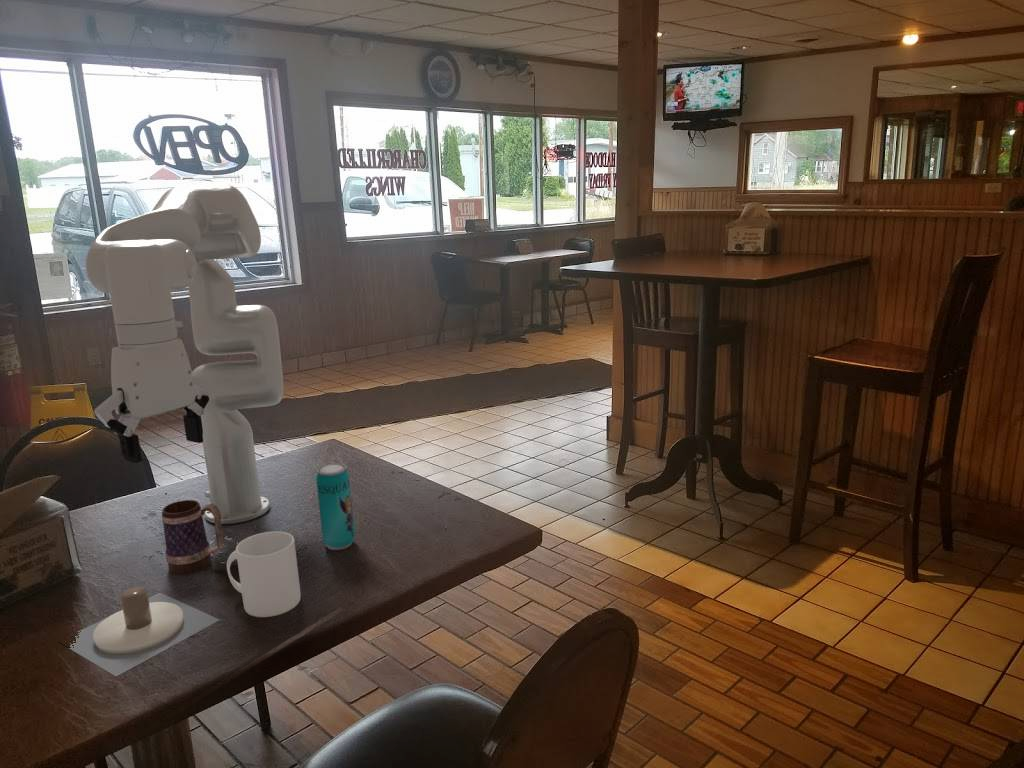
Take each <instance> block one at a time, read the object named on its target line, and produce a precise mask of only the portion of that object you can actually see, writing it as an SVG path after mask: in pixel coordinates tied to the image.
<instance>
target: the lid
mask: <svg viewBox="0 0 1024 768" xmlns="http://www.w3.org/2000/svg"><path fill="white" fill-rule="evenodd" d="M119 597H120V601H121V607H122V608H121V610H119V611H117V612H114V613H113V614H111V615H109V616H107V617H106V619H105V618H104V619H105V620H103V619H102V620H103V621H102V622H101V623H100V624H99V625H98V626H97V627H96V628H95V630H94V633H93V639H94V644H95V647H96V648H97V649H98V650H99V651H101V652H104V653H108V654H128V653H134V652H139V651H143V650H146V649H149V648H152V647H154V646H157V645H159V644H161V643H163V642H165V641H166V640H168V639H170V638H171V637H173V636H174V635H175V634H176V633H177V632H178V631H179V630H180V629H181V627H182V626H183V623H184V617H183V611H182V609H181V608H180V607H179V606H177V605H176V604H173V603H168V602H151V603H149V599H148V598H149V594H148V589H147V588H146V587H144V586H135V587H131V588H128V589H125V590H124V591H122V593H120V594H119Z"/></svg>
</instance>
